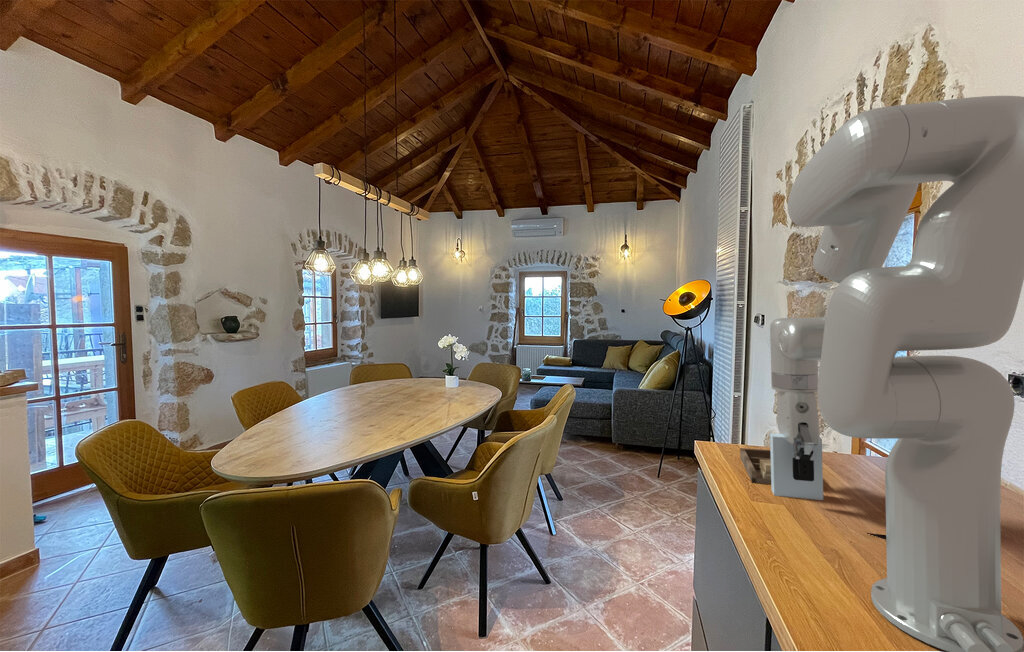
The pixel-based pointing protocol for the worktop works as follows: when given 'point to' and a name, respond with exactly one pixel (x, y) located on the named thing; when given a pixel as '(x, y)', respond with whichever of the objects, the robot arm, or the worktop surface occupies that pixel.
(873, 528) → the worktop surface
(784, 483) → the board
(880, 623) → the worktop surface
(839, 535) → the worktop surface
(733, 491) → the worktop surface
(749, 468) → the rack
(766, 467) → the offcut top
